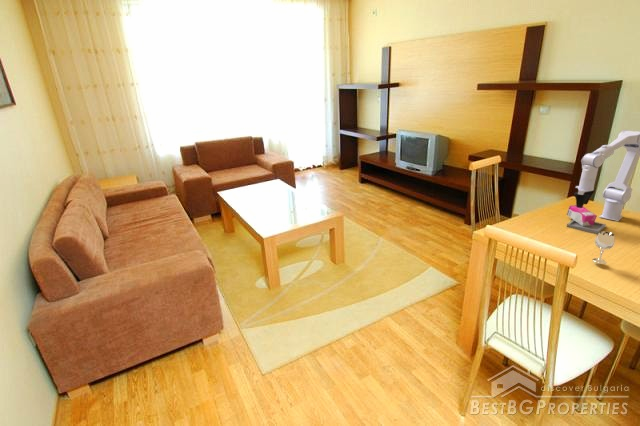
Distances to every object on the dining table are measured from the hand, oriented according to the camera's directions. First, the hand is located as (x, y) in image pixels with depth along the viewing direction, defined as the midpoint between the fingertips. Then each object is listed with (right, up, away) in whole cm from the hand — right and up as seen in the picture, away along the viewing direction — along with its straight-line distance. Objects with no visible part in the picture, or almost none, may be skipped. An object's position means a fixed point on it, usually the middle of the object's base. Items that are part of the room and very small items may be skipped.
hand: (581, 205), depth 166 cm
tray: (+3, -11, +1) cm, 11 cm away
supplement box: (+3, -2, +9) cm, 10 cm away
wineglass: (-17, -23, -31) cm, 42 cm away
